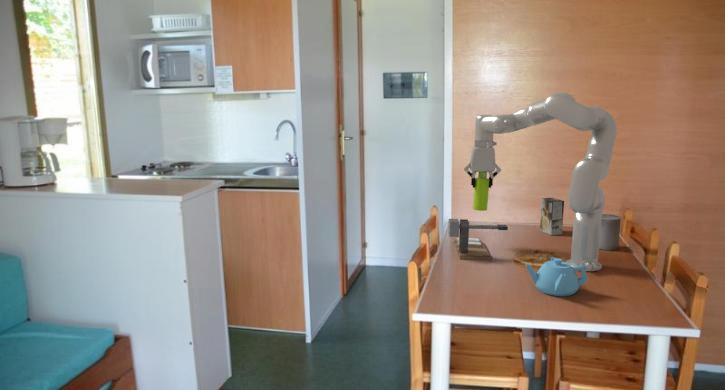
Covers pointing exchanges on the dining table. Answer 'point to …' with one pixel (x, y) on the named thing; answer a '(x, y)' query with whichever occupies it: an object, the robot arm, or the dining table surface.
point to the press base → (469, 244)
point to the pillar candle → (609, 232)
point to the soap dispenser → (481, 192)
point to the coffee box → (552, 216)
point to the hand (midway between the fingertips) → (481, 186)
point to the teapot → (558, 277)
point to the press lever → (454, 227)
